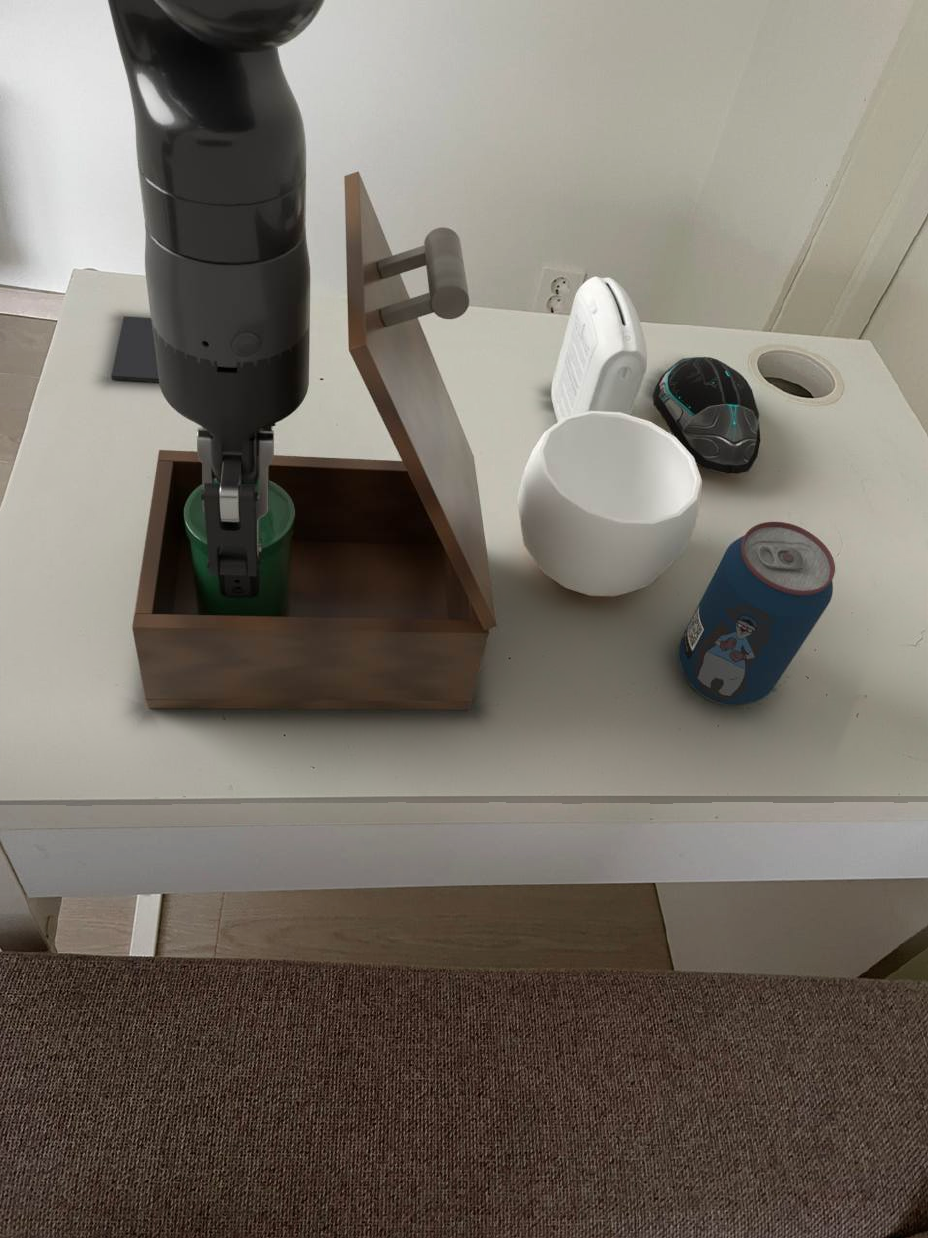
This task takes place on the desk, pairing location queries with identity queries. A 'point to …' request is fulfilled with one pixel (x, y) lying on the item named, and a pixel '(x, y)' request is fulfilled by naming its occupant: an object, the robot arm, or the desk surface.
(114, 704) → the desk surface
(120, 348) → the mat
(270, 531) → the green pot
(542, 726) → the desk surface
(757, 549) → the soda can
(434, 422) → the lid
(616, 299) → the photo printer
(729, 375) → the computer mouse
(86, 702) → the desk surface
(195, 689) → the wooden box
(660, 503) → the cup
